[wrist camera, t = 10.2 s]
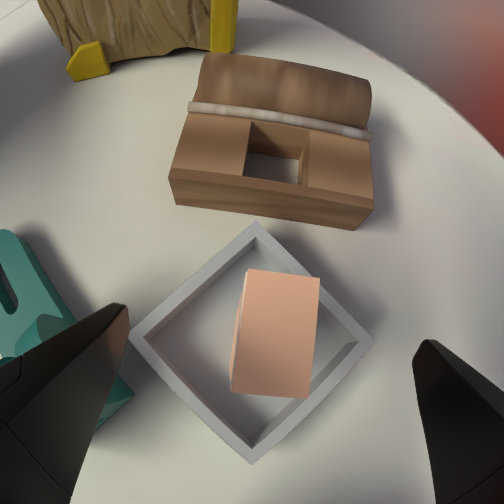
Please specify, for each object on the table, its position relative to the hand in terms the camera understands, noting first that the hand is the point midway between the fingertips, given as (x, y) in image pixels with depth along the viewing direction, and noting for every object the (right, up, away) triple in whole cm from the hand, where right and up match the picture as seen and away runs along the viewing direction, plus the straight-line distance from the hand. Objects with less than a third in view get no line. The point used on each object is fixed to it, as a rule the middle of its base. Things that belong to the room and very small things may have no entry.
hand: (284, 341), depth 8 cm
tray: (-1, -4, +12) cm, 13 cm away
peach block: (-1, -4, +12) cm, 12 cm away
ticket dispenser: (+1, +11, +17) cm, 21 cm away
